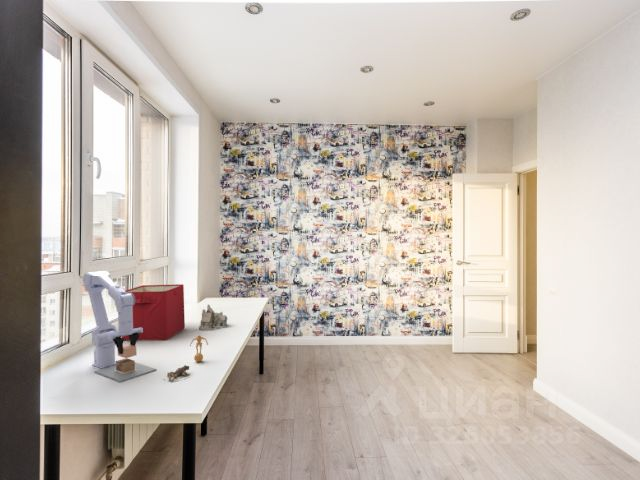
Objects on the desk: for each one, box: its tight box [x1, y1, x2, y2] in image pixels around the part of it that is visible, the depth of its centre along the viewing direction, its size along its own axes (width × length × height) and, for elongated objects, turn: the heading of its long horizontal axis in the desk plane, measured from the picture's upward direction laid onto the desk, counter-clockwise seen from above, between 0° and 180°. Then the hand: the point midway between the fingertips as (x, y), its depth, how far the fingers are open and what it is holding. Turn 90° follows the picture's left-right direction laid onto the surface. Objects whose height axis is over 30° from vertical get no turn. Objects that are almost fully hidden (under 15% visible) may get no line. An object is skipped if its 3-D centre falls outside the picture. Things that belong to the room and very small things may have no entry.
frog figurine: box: [162, 364, 190, 383], centre depth 158 cm, size 12×12×4 cm
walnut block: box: [115, 358, 135, 373], centre depth 166 cm, size 7×5×4 cm, turn 55°
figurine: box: [189, 335, 209, 363], centre depth 177 cm, size 8×6×12 cm
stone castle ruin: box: [198, 304, 229, 332], centre depth 244 cm, size 16×16×15 cm
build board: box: [94, 362, 157, 383], centre depth 166 cm, size 22×16×1 cm
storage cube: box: [121, 283, 186, 342], centre depth 230 cm, size 32×28×29 cm
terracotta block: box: [117, 343, 137, 359], centre depth 166 cm, size 7×5×4 cm, turn 55°
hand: (126, 352), depth 166 cm, fingers closed on terracotta block, 5 cm apart
